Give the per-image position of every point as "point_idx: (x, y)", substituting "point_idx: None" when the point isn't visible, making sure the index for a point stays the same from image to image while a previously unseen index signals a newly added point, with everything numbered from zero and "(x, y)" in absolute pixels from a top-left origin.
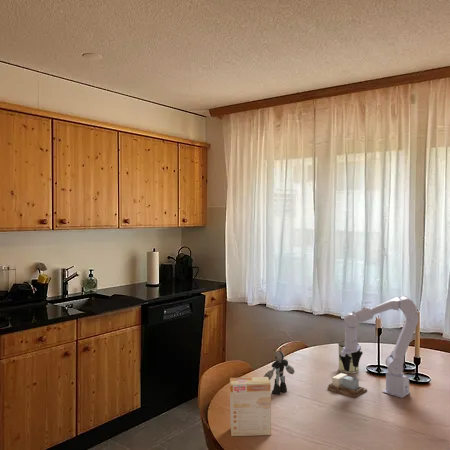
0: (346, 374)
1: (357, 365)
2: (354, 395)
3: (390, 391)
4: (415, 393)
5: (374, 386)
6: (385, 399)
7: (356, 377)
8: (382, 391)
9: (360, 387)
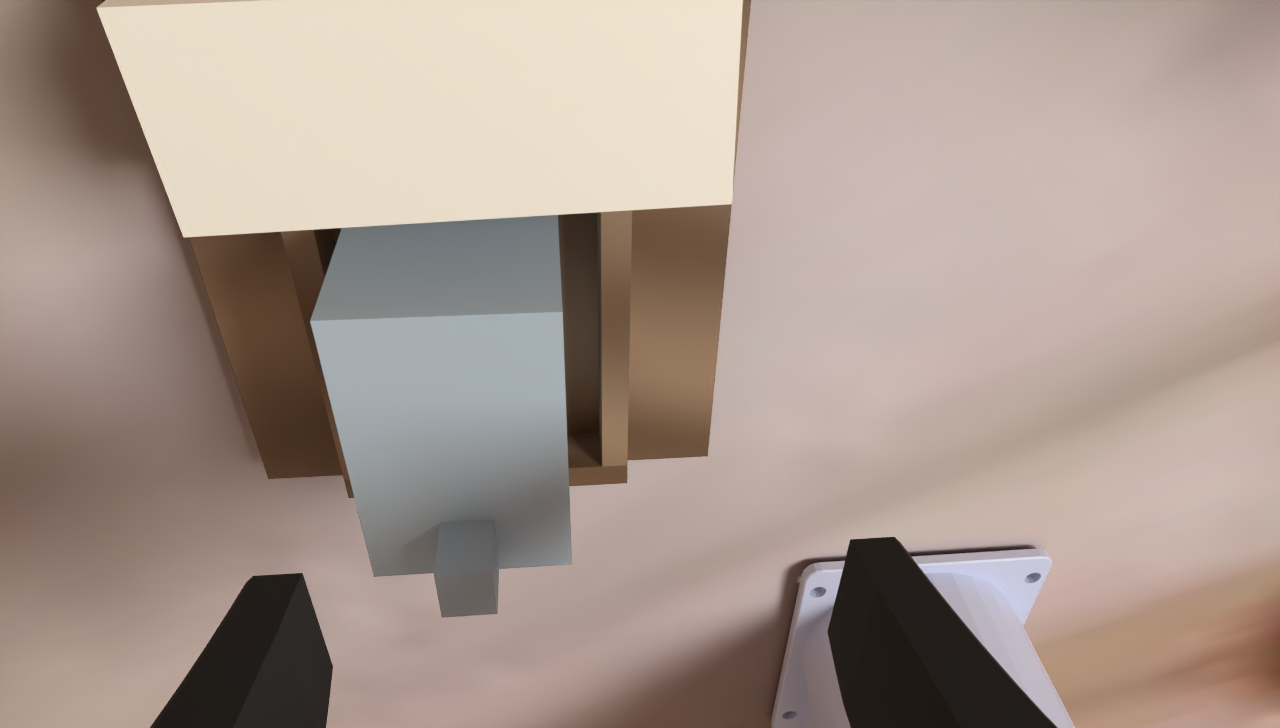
0: (723, 187)
1: (844, 694)
2: (281, 475)
3: (808, 669)
4: None
5: (990, 398)
6: (603, 662)
7: (491, 609)
8: (808, 573)
9: (601, 441)
